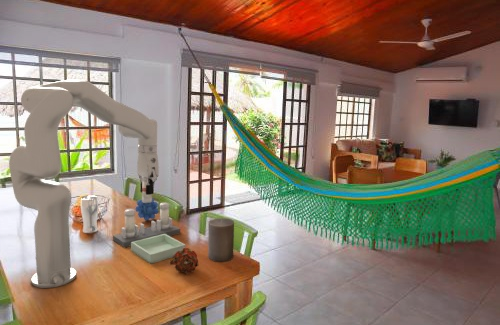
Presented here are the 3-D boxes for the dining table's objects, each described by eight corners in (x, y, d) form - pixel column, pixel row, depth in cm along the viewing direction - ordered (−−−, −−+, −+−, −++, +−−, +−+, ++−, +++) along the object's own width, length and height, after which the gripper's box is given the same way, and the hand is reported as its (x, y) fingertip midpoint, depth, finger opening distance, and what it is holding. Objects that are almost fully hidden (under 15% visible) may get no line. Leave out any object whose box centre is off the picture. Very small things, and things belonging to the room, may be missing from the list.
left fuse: (136, 236, 149) (136, 210, 147) (127, 238, 146) (127, 212, 145) (132, 233, 152) (132, 208, 150) (123, 235, 149) (122, 209, 147)
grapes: (139, 225, 168) (139, 200, 166) (133, 221, 173) (133, 196, 171) (162, 220, 176) (162, 196, 174) (156, 217, 181) (156, 193, 179)
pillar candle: (238, 255, 140) (239, 217, 137) (223, 264, 131) (224, 224, 129) (217, 249, 145) (218, 213, 142) (202, 257, 136) (202, 219, 134)
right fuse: (170, 228, 160) (170, 204, 158) (162, 230, 157) (162, 205, 156) (165, 225, 163) (166, 202, 161) (157, 227, 160) (158, 203, 158)
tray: (185, 253, 140) (185, 244, 139) (150, 263, 129) (150, 254, 129) (164, 241, 150) (164, 233, 149) (131, 250, 140) (130, 242, 139)
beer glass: (92, 234, 155) (91, 200, 152) (78, 232, 156) (76, 198, 153) (102, 229, 161) (101, 196, 159) (88, 227, 163) (87, 194, 160)
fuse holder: (180, 233, 161) (180, 220, 160) (124, 247, 142) (123, 232, 141) (168, 226, 168) (168, 214, 167) (113, 240, 149) (112, 226, 148)
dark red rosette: (191, 283, 120) (176, 274, 130) (209, 263, 124) (193, 256, 134) (176, 266, 117) (161, 258, 127) (194, 246, 121) (179, 240, 130)
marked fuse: (153, 202, 152) (153, 176, 150) (144, 203, 149) (145, 177, 148) (148, 200, 155) (149, 174, 153) (140, 201, 152) (140, 175, 150)
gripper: (166, 151, 146) (165, 196, 148) (145, 146, 157) (145, 188, 160) (149, 152, 140) (148, 198, 143) (129, 147, 152) (129, 190, 155)
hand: (146, 192), depth 151 cm, fingers closed on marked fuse, 3 cm apart
